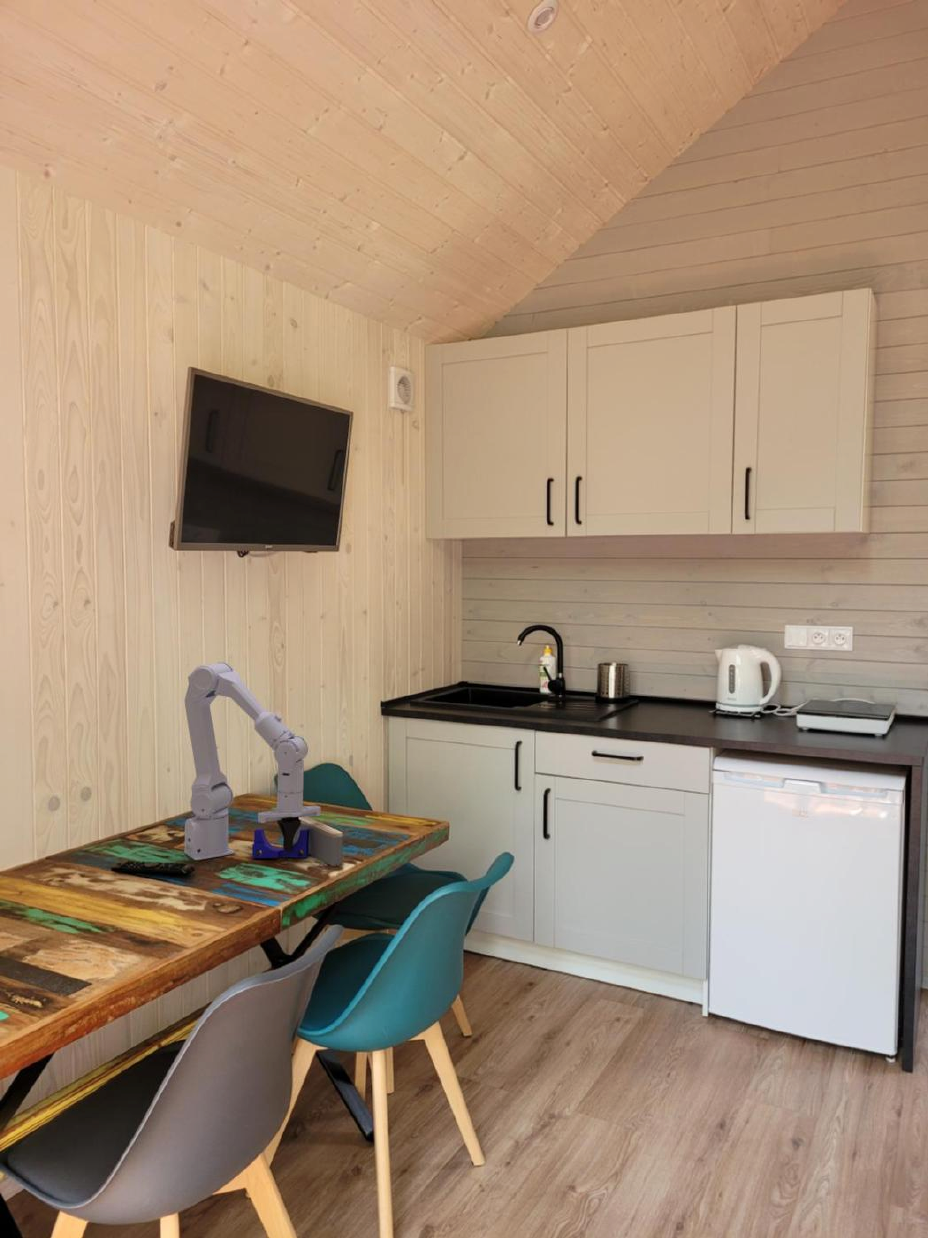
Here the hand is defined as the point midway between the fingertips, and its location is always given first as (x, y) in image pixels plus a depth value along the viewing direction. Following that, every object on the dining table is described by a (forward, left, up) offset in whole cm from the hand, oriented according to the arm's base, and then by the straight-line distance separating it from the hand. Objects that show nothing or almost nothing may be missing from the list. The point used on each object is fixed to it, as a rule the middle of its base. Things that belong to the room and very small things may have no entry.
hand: (288, 850), depth 212 cm
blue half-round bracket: (-1, +3, -2) cm, 4 cm away
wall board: (+7, 0, -2) cm, 7 cm away
